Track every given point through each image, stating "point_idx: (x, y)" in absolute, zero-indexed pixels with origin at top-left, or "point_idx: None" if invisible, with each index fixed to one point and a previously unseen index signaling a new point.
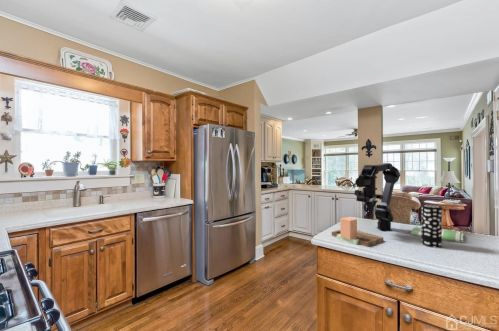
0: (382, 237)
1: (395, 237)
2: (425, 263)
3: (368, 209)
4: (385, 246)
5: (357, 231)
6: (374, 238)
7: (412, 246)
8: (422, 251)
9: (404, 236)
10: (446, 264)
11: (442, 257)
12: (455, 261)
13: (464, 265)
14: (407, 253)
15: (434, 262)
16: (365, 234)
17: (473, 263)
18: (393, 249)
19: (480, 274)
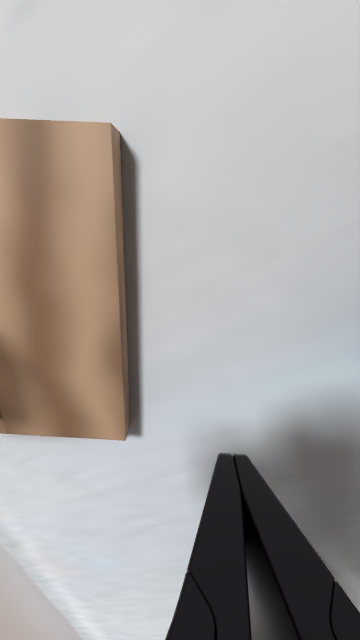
0: (120, 437)
1: (261, 434)
2: (31, 570)
3: (206, 507)
4: (59, 457)
5: (91, 269)
6: (55, 420)
7: (173, 515)
8: (142, 545)
9: (324, 454)
10: (84, 596)
11: (138, 584)
12: (135, 603)
13: (123, 616)
14: (65, 525)
15: (67, 580)
16: (78, 350)
17: (163, 623)
18: (56, 487)
19: (91, 634)
